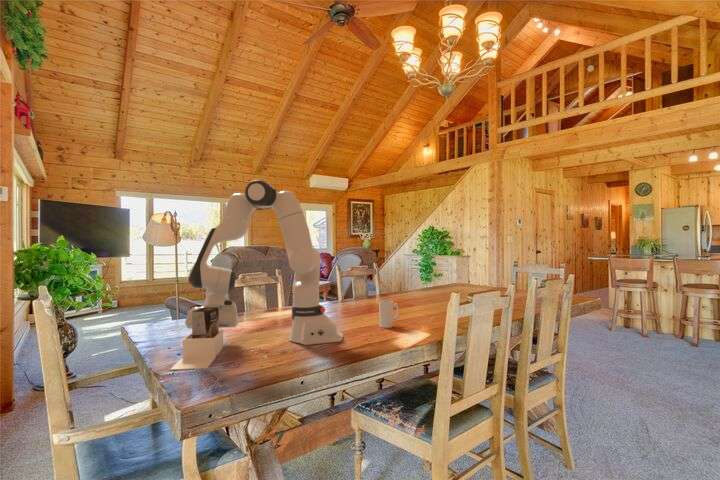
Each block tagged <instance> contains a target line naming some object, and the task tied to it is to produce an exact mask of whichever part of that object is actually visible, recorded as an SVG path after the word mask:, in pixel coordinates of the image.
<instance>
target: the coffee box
mask: <svg viewBox="0 0 720 480" xmlns="http://www.w3.org/2000/svg"><path fill="white" fill-rule="evenodd" d="M203 307H204V306H203ZM191 332H192V339H195V338H214V337H215V336H216V335H217V334H218V333H219V332H220V328H219V310H218V307H208V308H205V307H204V308H201V309H198V310H195V311H192V328H191Z"/></svg>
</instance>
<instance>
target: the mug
mask: <svg viewBox="0 0 720 480" xmlns="http://www.w3.org/2000/svg"><path fill="white" fill-rule="evenodd" d="M394 308H396V310H397V311H396V313H395V314H396V315H394ZM378 311H379V312H378V314H379V315H378V316H379V317H378V318H379V319H378V320H379V327H380V328H382V329H383V328H384V329H391V328H394V327H393V326H394V321H397V320H398V318H399V316H400V307H399V306H398V303H397V302H395V303H394V301H393V300H389V299H388V300H387V299H386V300H379V301H378Z"/></svg>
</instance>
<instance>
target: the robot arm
mask: <svg viewBox="0 0 720 480" xmlns="http://www.w3.org/2000/svg"><path fill="white" fill-rule="evenodd" d="M271 209H272V210H273V211H274V214H275V216H276V219H277V221H278V225H279V227H280V230H281V233H282V236H283V237H282V238H283V241H284V245H285V251H286V254H287V259H288V264H289V267H290V269H291V270H292V271H293V272H294V275H293V283H292V306H291V319H292V323H291V332H290V336H289V341H290V342H292V343H297V344H301V345H304V346H306V345H307V346H309V345H316V344H319V345H320V344H327V343H328V344H329V343H339V342H342V340H343V338H344V335H343V333H342V332H340V331H339V330H338V326H337V323H336V322H335V320H333V319H332V318H330V316H328V315H327V314H325V313H326V308H325V307H324V306H323V305H321V304H320V275H321V255H320V252H319V251H318V250H317V249H316V248H315V247H313V243H312V238H311V234H310V229H309V226H308V223H307V220H306V218H305V214H304V212H303V208H302V206H301V204H300V201H299V200H298V198H297V196H296V195H295V193H294V192H293V191H290V190H281V191H278V190H277V189H276V188H275V187H274V186H272V185H271V184H270V183H269V182H267V181H264V180H261V179H256V180H251V181H250V182H249V183H248V184H247V185H246V187H245V190H244V193H243V192H238V193H237V192H236V193H233V194H232V195H230V197H229V198H228V201H227V203H226V206H225V209H224V212H223V216H222V219H221V221H220V222H219V224H217V226H213V227H212V228H211V229H210V231H209V232H208V234H207V236H206V238H205V240H204V242H203V245H202V246H201V249H200V252H199V253H198V256H197V258H196V261H195V263H194V264H193V265H192V267H191V268H190V271H189V272H188V277H187V279H188V280H187V281H188V282H189V284H190V286H192V287H193V288H194V289H195V288H196V289H207V291H206V292H207V293H206V297H205V299H204V305H203V306H199V307H197V306H195V307H192V308H190V309H189V310H188V311H187V316H186V319H185V322H184V324H185V326H186V328H187V329H189V330H190V329H191V330H192V311H195V310H198V309H201V308H204V307H205V308H208V307H218V310H219V329H221V328H236V327H237V326H238V324H239V315H238V308H237V305H236V302H235V301H233V300H229V299H227V298H228V296H229V295H230V294H231V293H233V292H234V289H235V287H236V285H235V284H236V280H237V274H236V273H235V271H234V270H233V269H230V268H226V267H219V266H214V265H209V264H207V262H208V260H209V258H210V255H211V253H212V251H213V248H214V247H215V246H216V245H217V244H219V243H224V242H230V241H237V240H239V239H241V238H243V237H245V236H246V234H247V232H248V230H249V226H250V223H251V218H252V214H253V213H254V211H255V210H256V211H259V210H262V211H263V210H271Z"/></svg>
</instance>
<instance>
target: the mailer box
mask: <svg viewBox="0 0 720 480" xmlns="http://www.w3.org/2000/svg"><path fill="white" fill-rule="evenodd" d="M223 349H224V329H221V330H219V333H218V334H217V335H216V336H215V337H214V338H195V339H192V331H191V332H190V333H188V334H187V335H186V336H185V337H184V338H183V339H182V358H181V359H179V360H178V361H177V362H176V363H175V364H174V365H173V366H172V367H171V368H170V369H169V371H185V370H187V371H188V370H202V369H203V370H204V369H205V370H206V369H208V368H209V367H210V366H211V365H212V363H213V362H214V361H215V360H216V358H217V356H218V355H219V354H220V352H221V351H222V350H223Z"/></svg>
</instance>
